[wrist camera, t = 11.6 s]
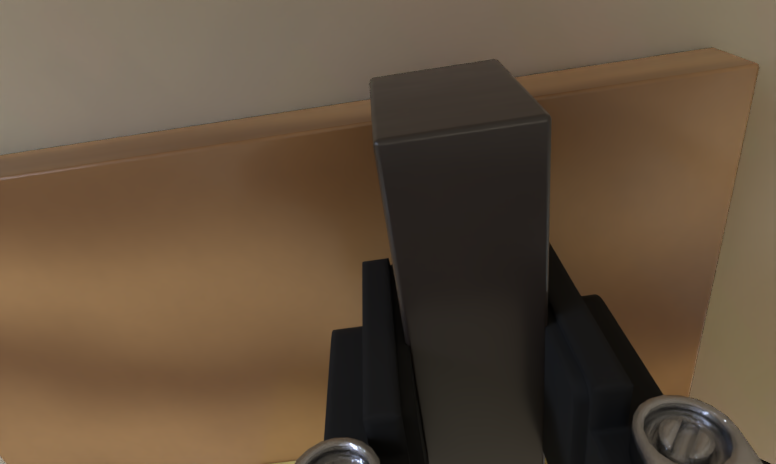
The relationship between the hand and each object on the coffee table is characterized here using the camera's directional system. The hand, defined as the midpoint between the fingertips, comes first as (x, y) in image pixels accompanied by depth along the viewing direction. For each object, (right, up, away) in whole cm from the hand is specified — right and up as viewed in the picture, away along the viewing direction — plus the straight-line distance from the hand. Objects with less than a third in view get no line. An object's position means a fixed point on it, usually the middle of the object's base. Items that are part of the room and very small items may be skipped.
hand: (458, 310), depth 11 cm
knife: (+1, -4, +3) cm, 5 cm away
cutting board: (-2, -5, +6) cm, 8 cm away
